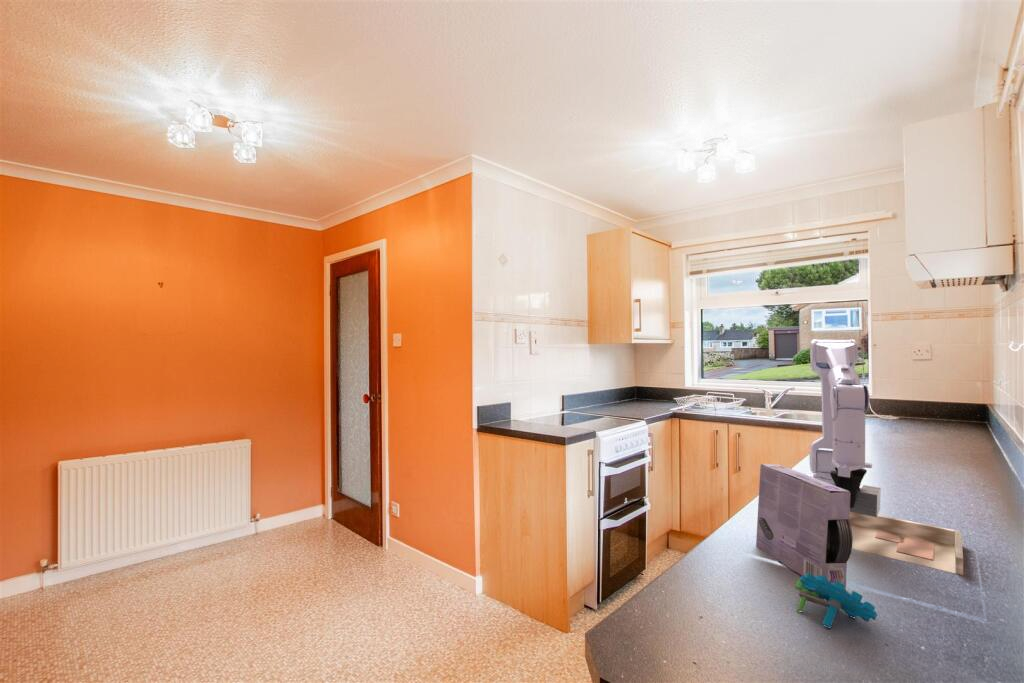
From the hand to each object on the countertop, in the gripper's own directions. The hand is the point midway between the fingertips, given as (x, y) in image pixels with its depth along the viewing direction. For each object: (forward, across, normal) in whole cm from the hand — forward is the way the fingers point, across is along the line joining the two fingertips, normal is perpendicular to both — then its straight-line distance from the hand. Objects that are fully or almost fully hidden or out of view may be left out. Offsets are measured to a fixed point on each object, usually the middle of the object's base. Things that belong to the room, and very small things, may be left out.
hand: (848, 504), depth 103 cm
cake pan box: (+9, -20, +5) cm, 22 cm away
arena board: (+8, +5, -6) cm, 12 cm away
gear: (+9, -36, -2) cm, 38 cm away
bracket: (+1, +2, 0) cm, 2 cm away
